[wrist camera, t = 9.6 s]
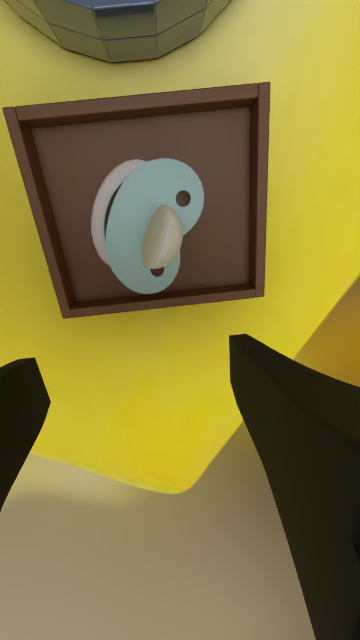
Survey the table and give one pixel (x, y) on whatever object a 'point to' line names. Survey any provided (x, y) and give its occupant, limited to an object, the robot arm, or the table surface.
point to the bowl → (119, 24)
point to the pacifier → (145, 220)
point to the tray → (219, 195)
